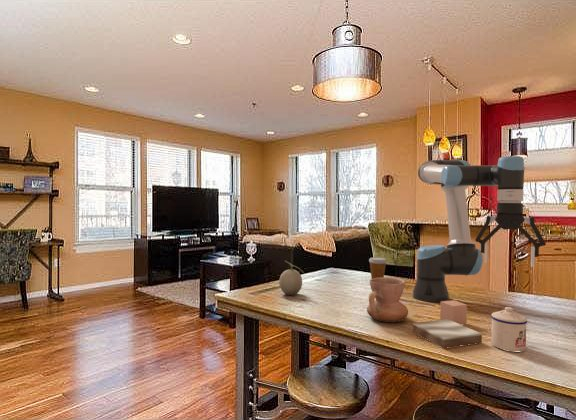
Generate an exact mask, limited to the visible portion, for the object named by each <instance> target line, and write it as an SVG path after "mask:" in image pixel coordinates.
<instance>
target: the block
mask: <svg viewBox="0 0 576 420" xmlns="http://www.w3.org/2000/svg"><path fill="white" fill-rule="evenodd" d="M439 309H440V315H439V316H440V317H439V320H444V319H449V320H451V321H453V322H456V323H458V324H466V323H467V322H468V321H467V319H468V316H467V315H468V313H467V312H468V311H467V310H468V304H466V303H463V302H460V301H457V300H453V299H452V300H448V301H441V302H440V308H439ZM467 324H468V323H467Z"/></svg>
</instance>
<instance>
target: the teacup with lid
mask: <svg viewBox="0 0 576 420" xmlns="http://www.w3.org/2000/svg"><path fill="white" fill-rule="evenodd" d="M490 318H491V345H492V344H493V345H494V346H496V347H498V348H501V349H505V350H509V351H524V350H525V349H526V348H527V323H528V320H527V318H526V316H524V315H521V314H519V313H518V312H517V311H514V309H513V308H512V307H510V306H506V307H504V309H502V310H499V311H494V312H492V313H491V315H490ZM493 345H492V346H493ZM494 346H493V347H494ZM496 347H495V348H496ZM498 348H497V349H498ZM525 351H526V350H525ZM525 351H524V352H525Z"/></svg>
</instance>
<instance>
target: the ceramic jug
mask: <svg viewBox="0 0 576 420" xmlns="http://www.w3.org/2000/svg"><path fill="white" fill-rule="evenodd" d="M405 283H406V281H405V280H404V279H401V278H400V279H399V278H396V277H387V276H384V277H383V278H374V279H372V278H371V279H370V280H369V285H370V289H371V292H369V295H368V306H367V307H366V312H367V314H368V315H369V317H371V318H373V319H374V320H376V321H379V322H384V323H399V322H402V321H404V320H405V319H406V318H407V317H408V314H409V310H408V307H407V306H406V305H405V304H403V303H402V302H401V301H400V299H401V298H402V295H403V292H404V289H405V285H406V284H405Z"/></svg>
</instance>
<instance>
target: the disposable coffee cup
mask: <svg viewBox="0 0 576 420" xmlns="http://www.w3.org/2000/svg"><path fill="white" fill-rule="evenodd" d="M368 262H369V267H370V277H371V279H374V278H383V277H385V272H386V263H387V258H385V257H378V256H377V257H370V258H369V259H368Z"/></svg>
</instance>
